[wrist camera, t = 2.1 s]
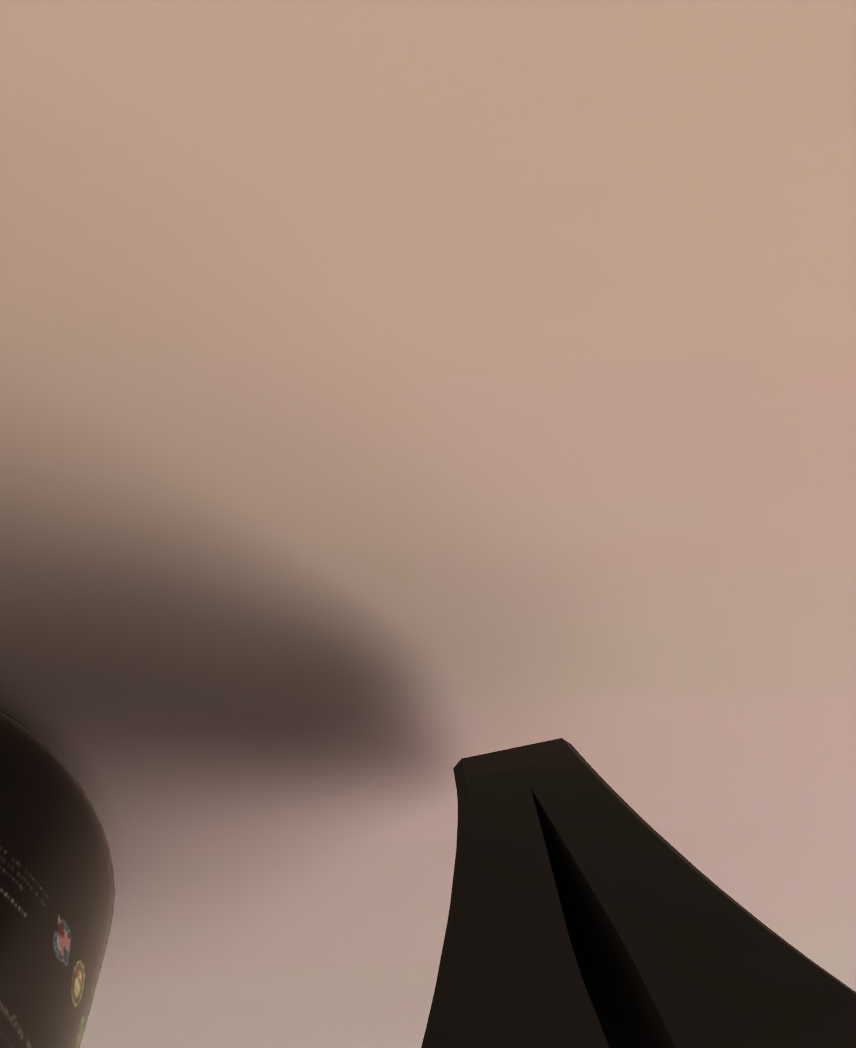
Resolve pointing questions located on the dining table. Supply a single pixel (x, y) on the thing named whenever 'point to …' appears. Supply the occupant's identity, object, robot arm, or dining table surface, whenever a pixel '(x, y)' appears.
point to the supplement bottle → (48, 896)
